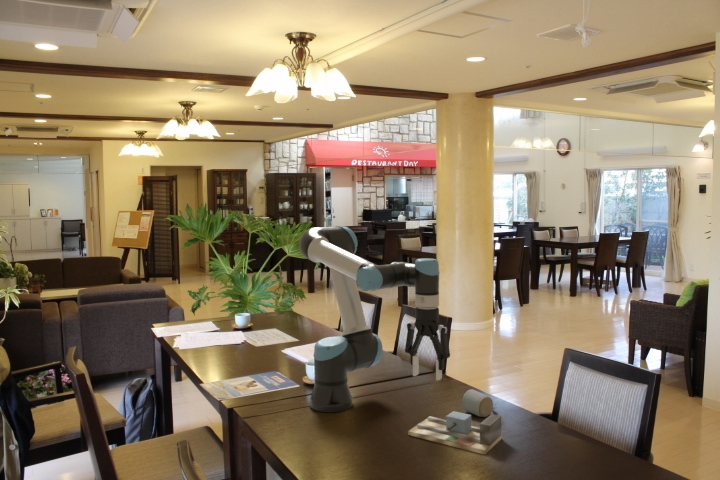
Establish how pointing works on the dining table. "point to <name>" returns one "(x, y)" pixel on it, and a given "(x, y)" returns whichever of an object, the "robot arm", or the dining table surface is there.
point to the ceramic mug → (477, 403)
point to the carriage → (458, 422)
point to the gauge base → (473, 441)
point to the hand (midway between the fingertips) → (427, 377)
